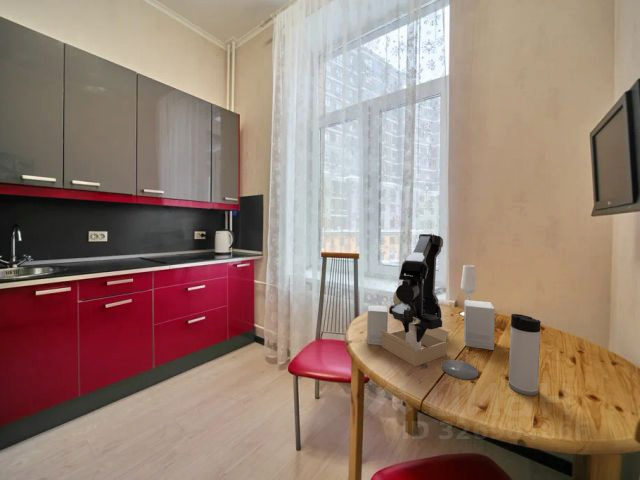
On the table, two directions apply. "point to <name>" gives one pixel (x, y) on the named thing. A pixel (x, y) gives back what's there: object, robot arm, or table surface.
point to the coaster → (459, 369)
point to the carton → (404, 350)
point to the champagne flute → (468, 281)
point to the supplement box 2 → (479, 324)
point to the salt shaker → (413, 337)
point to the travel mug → (524, 354)
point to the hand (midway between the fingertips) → (413, 339)
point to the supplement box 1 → (376, 324)
